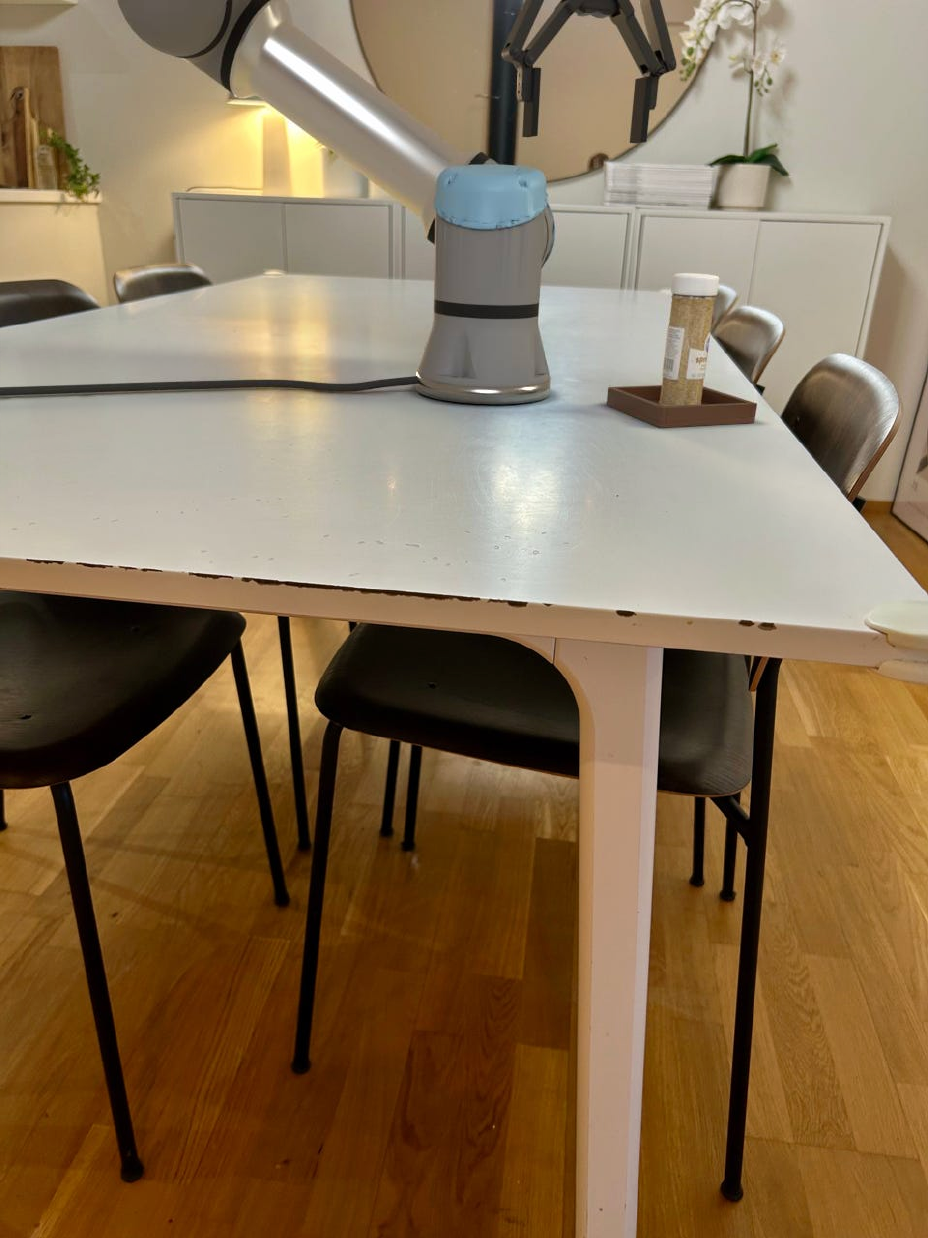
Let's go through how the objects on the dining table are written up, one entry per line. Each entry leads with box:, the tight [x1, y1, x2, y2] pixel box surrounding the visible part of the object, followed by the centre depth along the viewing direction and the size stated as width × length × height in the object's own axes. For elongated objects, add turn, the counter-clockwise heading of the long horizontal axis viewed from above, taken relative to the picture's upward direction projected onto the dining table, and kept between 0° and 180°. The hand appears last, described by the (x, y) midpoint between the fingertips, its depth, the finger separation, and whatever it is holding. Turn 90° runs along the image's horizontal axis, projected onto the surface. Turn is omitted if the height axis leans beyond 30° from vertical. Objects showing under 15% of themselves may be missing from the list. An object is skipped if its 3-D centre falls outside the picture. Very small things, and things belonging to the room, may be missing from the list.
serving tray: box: [606, 384, 758, 429], centre depth 96 cm, size 11×11×2 cm
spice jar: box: [658, 272, 720, 406], centre depth 93 cm, size 5×5×14 cm
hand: (584, 139), depth 103 cm, fingers open, 13 cm apart
